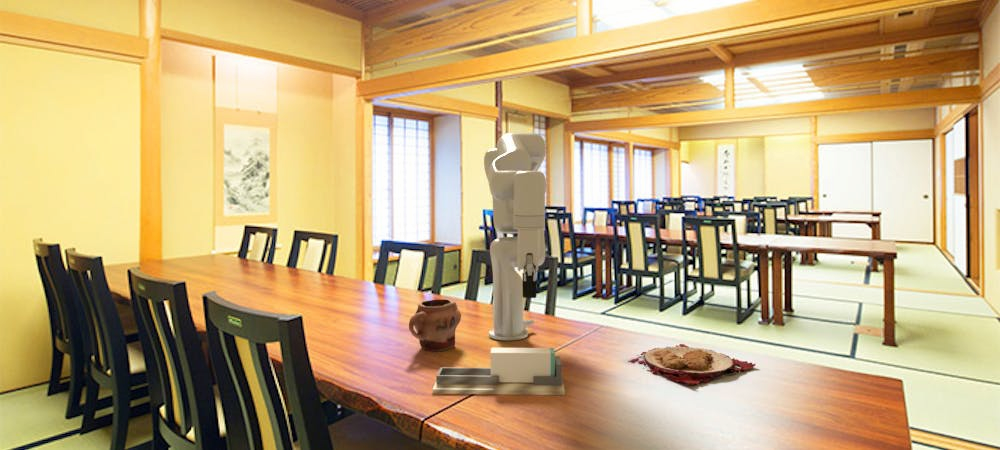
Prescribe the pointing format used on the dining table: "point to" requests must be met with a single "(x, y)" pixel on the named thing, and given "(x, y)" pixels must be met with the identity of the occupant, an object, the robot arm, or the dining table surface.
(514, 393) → the base
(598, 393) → the dining table surface
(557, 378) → the socket
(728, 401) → the dining table surface
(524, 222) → the robot arm
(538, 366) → the white teal block
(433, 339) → the brown clay mug
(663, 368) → the plate with food
